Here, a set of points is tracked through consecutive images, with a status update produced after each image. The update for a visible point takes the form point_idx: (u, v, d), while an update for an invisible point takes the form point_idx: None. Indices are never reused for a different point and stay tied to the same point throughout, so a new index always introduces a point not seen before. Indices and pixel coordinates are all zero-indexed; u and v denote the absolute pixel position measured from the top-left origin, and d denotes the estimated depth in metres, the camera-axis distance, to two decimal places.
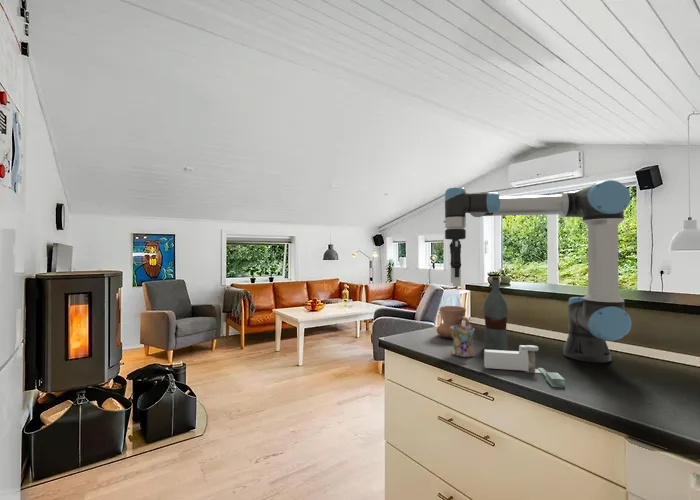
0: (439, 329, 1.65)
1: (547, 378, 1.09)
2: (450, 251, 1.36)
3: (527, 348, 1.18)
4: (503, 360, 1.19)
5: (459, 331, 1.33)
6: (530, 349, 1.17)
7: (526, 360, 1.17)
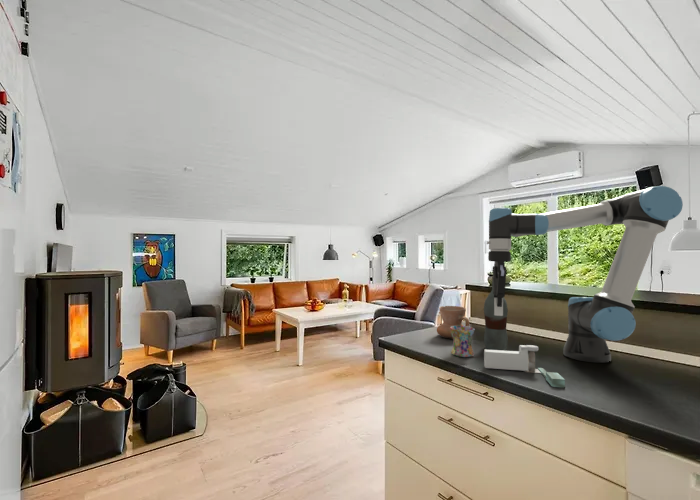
0: (439, 329, 1.65)
1: (547, 378, 1.09)
2: (493, 274, 1.29)
3: (527, 348, 1.18)
4: (503, 360, 1.19)
5: (459, 331, 1.33)
6: (530, 349, 1.17)
7: (526, 360, 1.17)
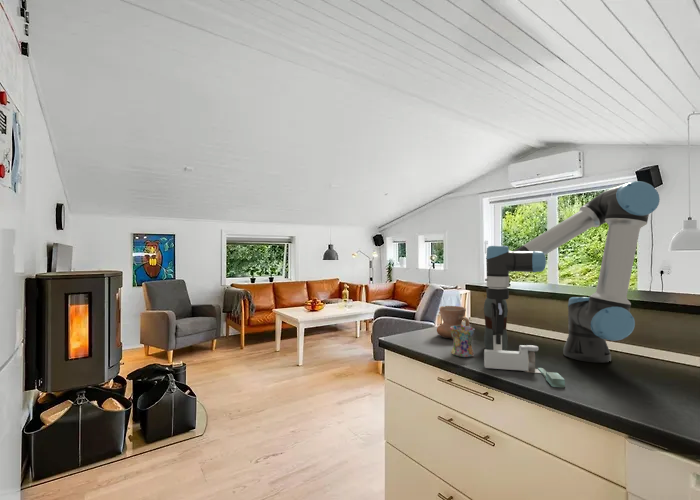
0: (439, 329, 1.65)
1: (547, 378, 1.09)
2: (492, 311, 1.29)
3: (527, 348, 1.18)
4: (503, 360, 1.19)
5: (459, 331, 1.33)
6: (530, 349, 1.17)
7: (526, 360, 1.17)
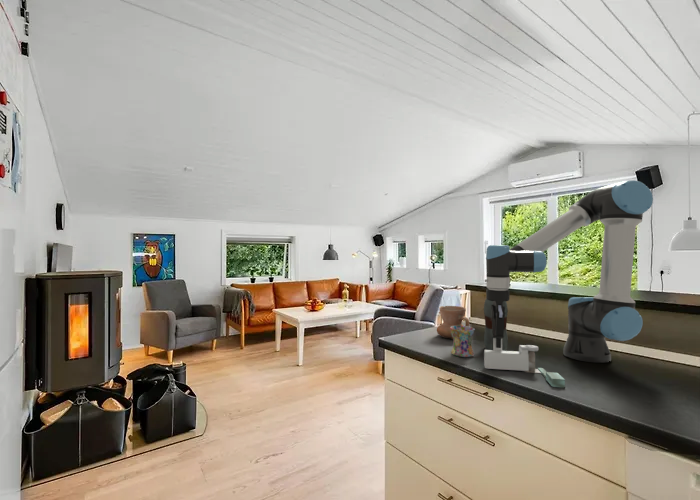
0: (439, 329, 1.65)
1: (547, 378, 1.09)
2: (492, 313, 1.24)
3: (527, 348, 1.17)
4: (503, 360, 1.19)
5: (459, 331, 1.33)
6: (530, 349, 1.17)
7: (526, 360, 1.17)
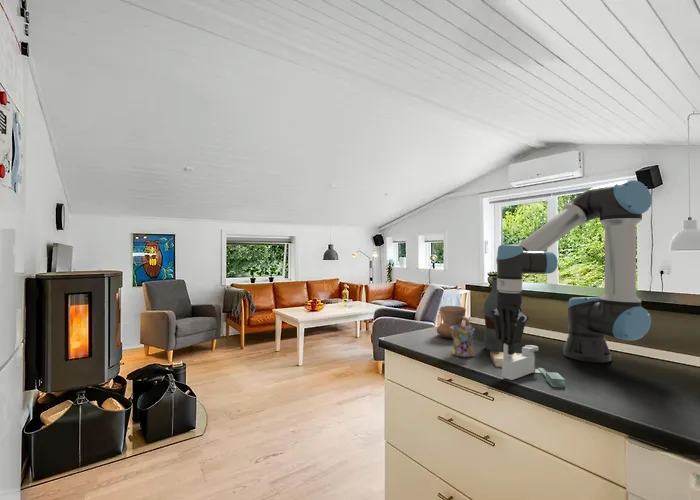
0: (439, 329, 1.65)
1: (547, 378, 1.09)
2: (503, 318, 1.14)
3: (533, 349, 1.16)
4: (521, 367, 1.12)
5: (459, 331, 1.33)
6: (535, 349, 1.17)
7: (533, 362, 1.16)
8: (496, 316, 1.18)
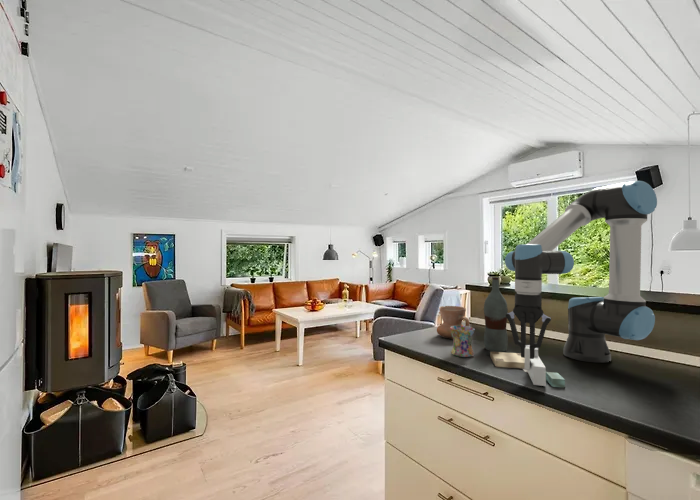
0: (439, 329, 1.65)
1: (547, 378, 1.09)
2: (524, 321, 1.09)
3: (537, 349, 1.16)
4: None
5: (459, 331, 1.33)
6: None
7: None
8: (512, 320, 1.11)
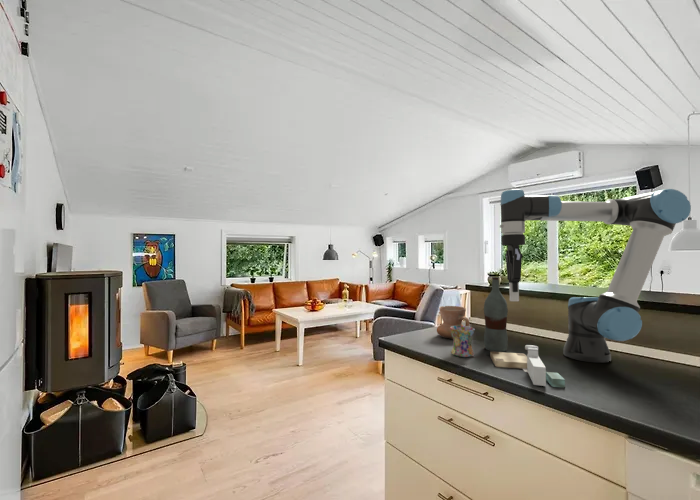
0: (439, 329, 1.65)
1: (547, 378, 1.09)
2: (507, 259, 1.24)
3: (537, 349, 1.16)
4: None
5: (459, 331, 1.33)
6: None
7: None
8: None
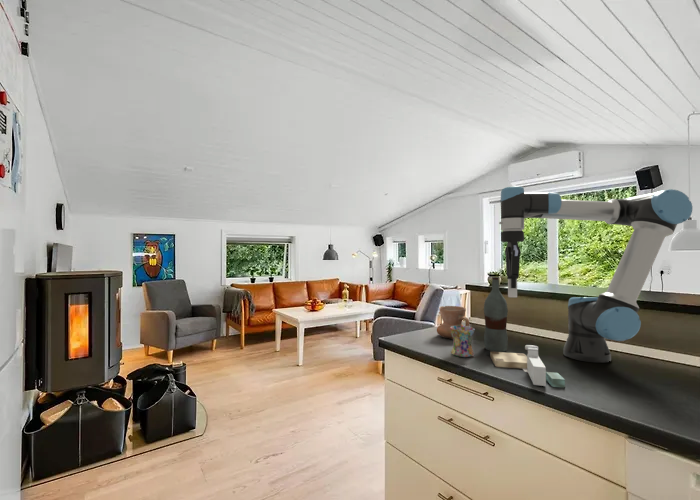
0: (439, 329, 1.65)
1: (547, 378, 1.09)
2: (507, 255, 1.25)
3: (537, 349, 1.16)
4: None
5: (459, 331, 1.33)
6: None
7: None
8: None
